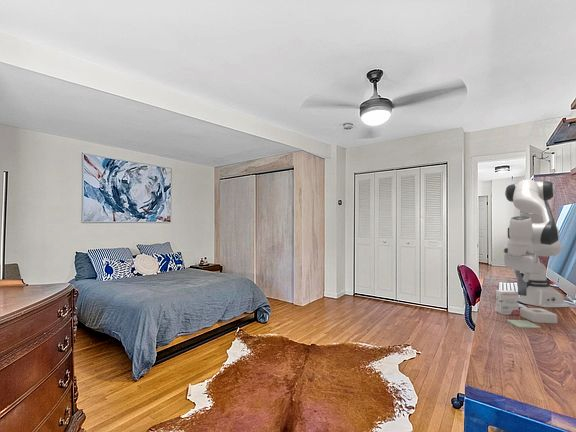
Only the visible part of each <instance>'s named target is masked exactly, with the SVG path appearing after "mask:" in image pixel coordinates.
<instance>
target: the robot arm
mask: <svg viewBox="0 0 576 432" xmlns="http://www.w3.org/2000/svg"><path fill="white" fill-rule="evenodd" d="M504 194H505V195H504V196H505V198H506V200H507V201H508V202H511V203H513V205H514V207H515V208H516V209H517V210H519V216H512V217H511V218H510V220H509V225H508V226H509V227H507V238H508V241H507V244H506V245H507V247H505V248H503V253H504V255H503V257H504V258H503V260H504V266H505V268H506V269H511V270H513V272H514V276H515V279H516V281H518V273H523V274H524V277H522V281H524V282H526V283H527V296H522V295H519V296H520V297H519V298H518V300H519V303H522V304H526V305H530V306H531V305H532V306H534V307H535V306H536V307H542V308H570V307H571V305H570V304H569V303H566V302H565V299H564V296H563V294H562V293H560V292H559V291H557V290H556V289H554V288H553V287H551V286H554V285H555V281H552V280H548V279H547V267H546V266H545V264H544V263H542V262H540V259H539V257H556V256H558V255H559V254H560V253H561V251H562V249H563V247H562V243H561V242H560V241H559V239H560V231H559V228H558V227H557V225H556V222H555V218H554V217H553V213H552V210H551V209H552V208H551V207H550V204H549V202H548V201H549V200H551V199H553V198H554V196H555V194H556V186H555V184H554V183H553V182H552V181H549V180H543V181H535V180H534V179H531V178H528V179H522V180H519V181H518V183H513V184H509V185H507V187H506V188H505V191H504Z"/></svg>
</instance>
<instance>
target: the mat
mask: <svg viewBox="0 0 576 432" xmlns="http://www.w3.org/2000/svg"><path fill="white" fill-rule="evenodd" d="M506 322H508V323H509V324H512V326H515V327H516V328H520V329H539V330H540V329H542V328H541V326H539V325H538V324H536V323H534V322H532V321H530V320H527V319H525V320H524V319H522V320H521V319H520V320H519V319H506Z"/></svg>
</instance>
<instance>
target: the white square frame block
mask: <svg viewBox="0 0 576 432" xmlns="http://www.w3.org/2000/svg"><path fill="white" fill-rule="evenodd" d="M519 315H520V317H521V318H524V319H525V320H527V321H529V322H531V323H541V324H543V323H544V324H558V314H556V313H554V312H551V311H549V310H546V309H544V308H538V307H537V308H536V307H533V308H532V307H531V308H530V307H520V308H519Z"/></svg>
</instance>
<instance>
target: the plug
mask: <svg viewBox="0 0 576 432" xmlns="http://www.w3.org/2000/svg"><path fill="white" fill-rule="evenodd" d="M522 277H524V274H523V273H522V272H520V273H518V280H517V292H518V296H521V295H522V296H527V283H526V282H524V281H522Z"/></svg>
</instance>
